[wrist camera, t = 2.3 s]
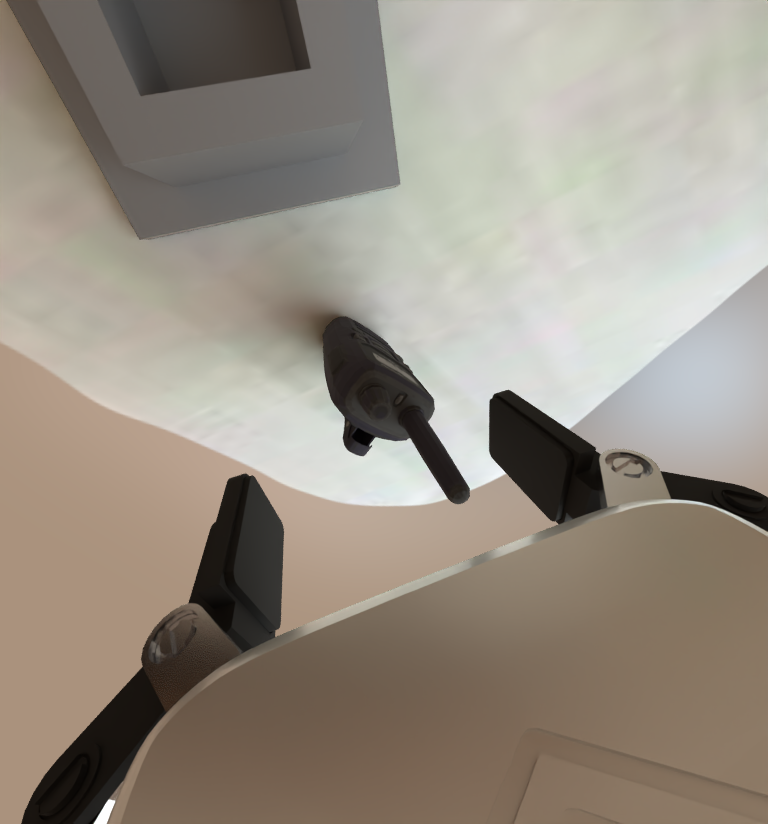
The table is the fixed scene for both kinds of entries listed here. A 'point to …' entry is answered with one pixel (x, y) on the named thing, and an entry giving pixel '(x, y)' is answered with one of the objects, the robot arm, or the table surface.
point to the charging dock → (221, 102)
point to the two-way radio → (383, 400)
